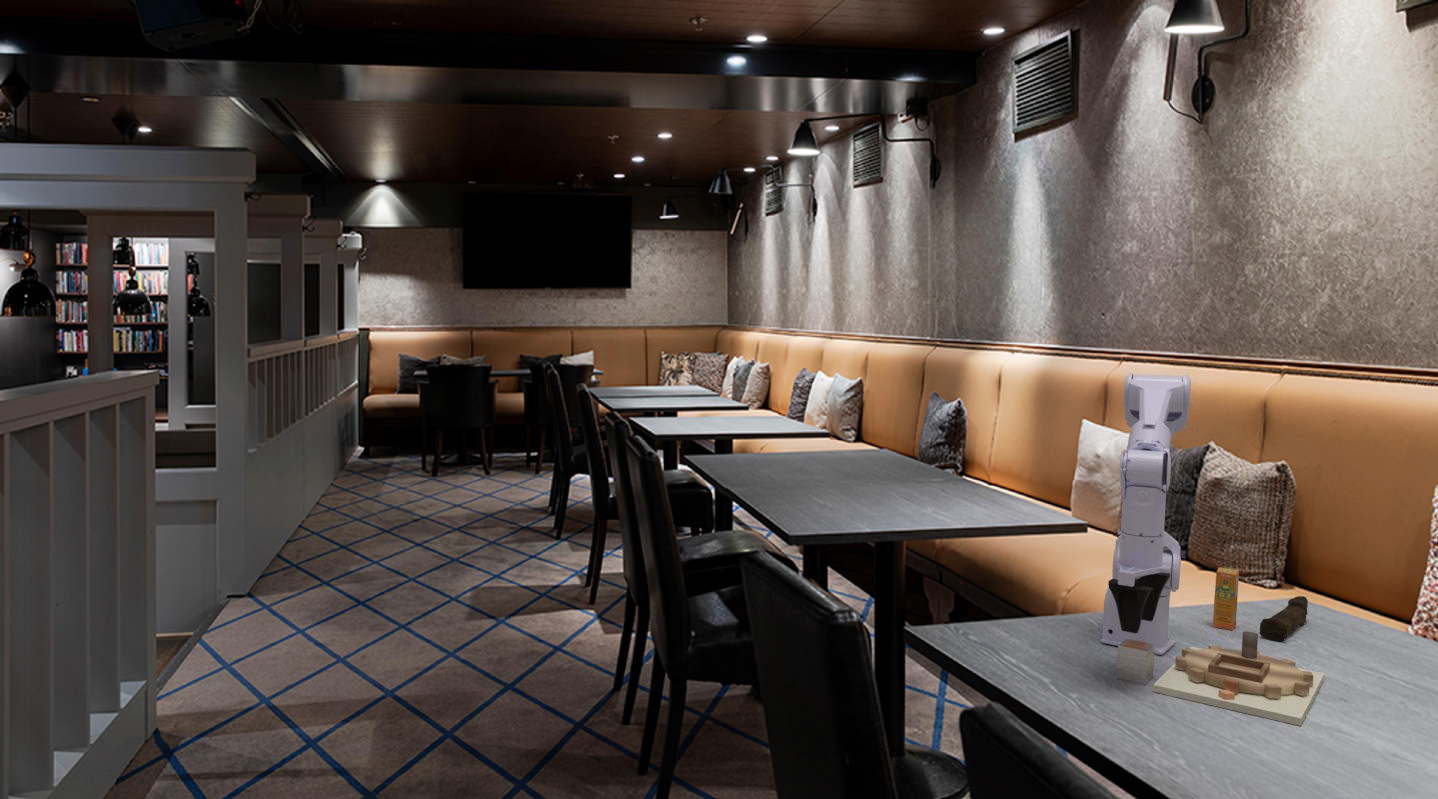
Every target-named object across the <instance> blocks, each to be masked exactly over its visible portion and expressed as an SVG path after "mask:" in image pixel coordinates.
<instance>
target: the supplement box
mask: <svg viewBox="0 0 1438 799" xmlns="http://www.w3.org/2000/svg"><path fill="white" fill-rule="evenodd" d="M1215 576H1216V577H1215V586H1214V587H1215V588H1214V601H1213V602H1214V603H1213V616H1212V618H1213V619H1212V627H1213V628H1217V629H1223V630H1229V631H1233V630H1234V628H1235V627H1236V626H1237V611H1238V610H1237V608H1238V594H1239V581H1240V580H1239V579H1240V570H1239V569H1233V568H1226V567H1218V569H1217V570H1216V575H1215Z"/></svg>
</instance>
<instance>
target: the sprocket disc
mask: <svg viewBox="0 0 1438 799" xmlns="http://www.w3.org/2000/svg"><path fill="white" fill-rule="evenodd" d="M1258 642H1259V633H1257V632H1255V631H1246V630H1245V631H1242V641H1241V649H1240V650H1239V649H1230V648H1223V647H1222V646H1220V645H1208V647H1207V648H1201V649H1198V650H1194V649H1191V648H1190V647H1185V648H1182V649H1181V655H1176V656H1175V662H1174V663H1175V667H1176V669H1178V670H1186V671H1187V672H1188V673H1189V676H1188V679H1190V680H1192V681H1194V682H1196V683H1199V682H1205V683H1208V684H1211V685H1214V686H1217V687H1221V688H1224V690H1229V691H1231V692H1233V693H1234V694H1237V693H1238V692H1244V693H1251V694H1260V695H1265V696H1266V697H1268V698H1276V699H1281V695H1287V694H1293V693H1295V694H1298V695H1301V696H1305V695H1308V694H1309V688H1310V686H1313V674H1312V673H1311V672H1308V671H1300V670H1299V669H1298V668H1299V667H1296V662H1295V661H1293V660H1290V659H1287V658H1283V659H1280V658H1276V657H1272V656H1269V655H1264V654H1261V653H1260V651H1258V645H1259V644H1258ZM1181 656H1182V657H1181Z"/></svg>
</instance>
